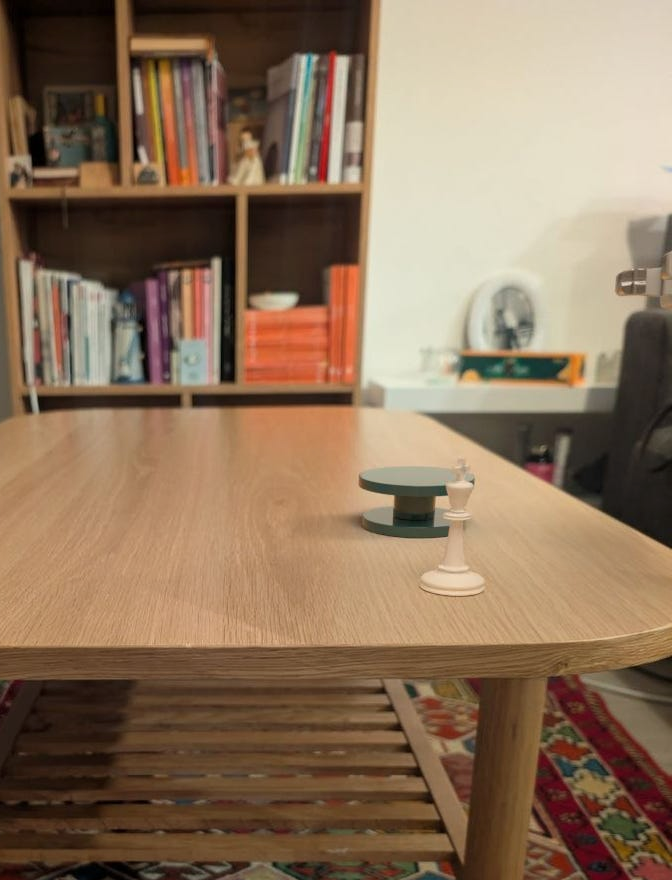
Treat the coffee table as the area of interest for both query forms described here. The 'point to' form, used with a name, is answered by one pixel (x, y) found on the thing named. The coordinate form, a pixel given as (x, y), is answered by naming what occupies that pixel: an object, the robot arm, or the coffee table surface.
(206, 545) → the coffee table surface
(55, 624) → the coffee table surface
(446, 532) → the stand
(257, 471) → the coffee table surface
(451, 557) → the chess piece
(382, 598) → the coffee table surface
